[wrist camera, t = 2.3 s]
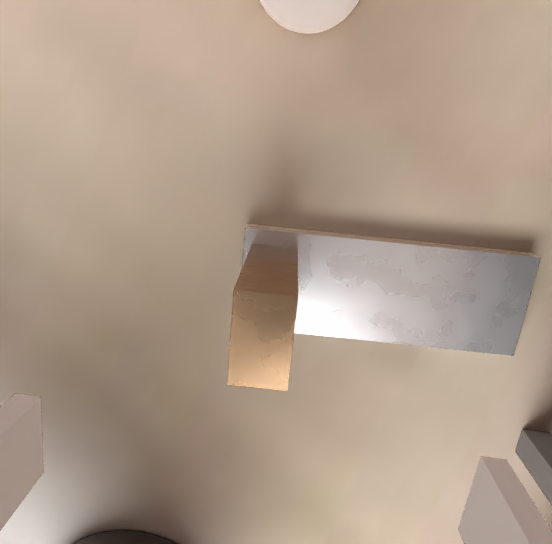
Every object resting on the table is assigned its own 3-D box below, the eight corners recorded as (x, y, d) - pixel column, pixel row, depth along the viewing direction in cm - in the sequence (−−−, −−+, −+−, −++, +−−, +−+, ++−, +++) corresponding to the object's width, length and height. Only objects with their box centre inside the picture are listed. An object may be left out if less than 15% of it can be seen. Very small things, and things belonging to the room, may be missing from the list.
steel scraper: (240, 318, 33) (216, 401, 23) (247, 223, 31) (224, 268, 21) (504, 345, 33) (595, 441, 23) (529, 251, 31) (643, 311, 21)
